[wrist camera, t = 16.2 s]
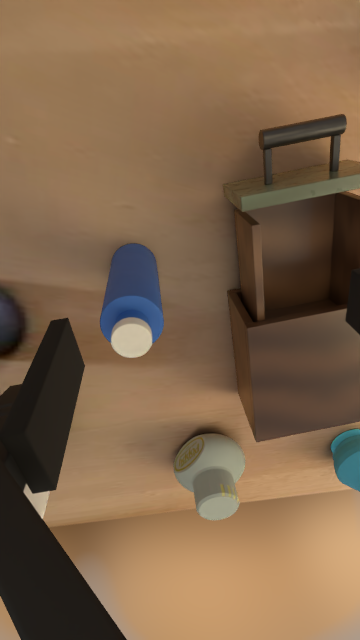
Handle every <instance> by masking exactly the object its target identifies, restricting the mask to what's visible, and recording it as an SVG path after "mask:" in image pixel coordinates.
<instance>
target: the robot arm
mask: <svg viewBox="0 0 360 640" xmlns="http://www.w3.org/2000/svg"><path fill="white" fill-rule="evenodd" d="M345 321H346V322H347V323H348V324H349V325H350V326H351V327H352V328H353V329H354V330H355V331H356V332H357V333H358V334H359V335H360V268H359V269H353V270H351V278H350V287H349V295H348V303H347V311H346V319H345ZM84 367H85V365H84V362H83V359H82V356H81V353H80V351H79V348H78V345H77V342H76V339H75V336H74V334H73V331H72V328H71V325H70V322H69V319H68V318H64V319H58V320H53V321H51V322H50V324H49V327H48V329H47V331H46V333H45V335H44V337H43V340H42V342H41V344H40V346H39V348H38V351H37V353H36V355H35V357H34V359H33V362H32V364H31V366H30V368H29V370H28V372H27V375H26V377H25V379H24V381H23V383H22V384H20V385H14V386H10V387H9V388H8V389H7V390H6V391H5V392H4V393H3V394H2V395H1V396H0V596H1V598H2V600H3V602H4V604H5V606H6V609H7V611H8V613H9V615H10V617H11V619H12V621H13V623H14V626H15V628H16V630H17V632H18V634H19V636H20V638H21V640H127V639H126V638H125V637H124V635H123V634H122V632H121V631H120V630H119V628H118V627H117V625H116V624H115V622H114V621H113V619H112V618H111V617H110V615H109V614H108V612H107V611H106V609H105V608H104V606H103V605H102V604H101V602H100V601H99V600H98V598H97V596H96V595H95V594H94V592H93V591H92V589H91V588H90V587H89V585H88V584H87V582H86V581H85V579H84V578H83V576H82V575H81V574H80V572H79V571H78V569H77V568H76V566H75V565H74V564H73V562H72V561H71V559H70V558H69V556H68V555H67V554H66V552H65V551H64V549H63V548H62V546H61V545H60V544H59V542H58V541H57V539H56V538H55V536H54V535H53V534H52V532H51V531H50V529H49V528H48V526H47V525H46V524H45V522H44V521H43V519H42V518H41V516H40V515H39V514H38V512H37V511H36V509H35V508H34V506H33V505H32V504H31V502H30V501H29V499H28V498H27V496H26V495H25V493H24V489H25V485H26V484H27V485H28V487H29V489H30V490H31V492H32V494H35V493H41V492H47V491H52V490H56V487H57V483H58V479H59V474H60V470H61V466H62V462H63V457H64V453H65V449H66V444H67V440H68V436H69V432H70V427H71V423H72V419H73V414H74V410H75V406H76V402H77V397H78V393H79V389H80V384H81V380H82V376H83V372H84Z"/></svg>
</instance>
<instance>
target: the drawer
mask: <svg viewBox="0 0 360 640" xmlns="http://www.w3.org/2000/svg"><path fill="white" fill-rule="evenodd" d="M346 124H347V122H346V117H345V115H344V114H340V115H335V116H330V117H325V118H320V119H315V120H310V121H305V122H300V123H295V124H290V125H285V126H279V127H274V128H269V129H264V130H260V132H259V146H260V149H261V150H263V165H264V176H262V177H257V178H252V179H247V180H242V181H237V182H232V183H227V184H223V187H224V196H225V197H226V198H227V199H228V200H229V201H230V202H232V203H233V204H234V205H235V206H236V207H237V208H238V209H237V210H235V211H234V212H235V224H236V235H237V247H238V259H239V270H240V282H241V293H242V304H243V305H244V307H245V309H246V311H247V312H248V314H249V316H250V318H251V319H252V321H253V322H257V321H262V320H267V319H272V318H277V317H282V316H287V315H292V314H297V313H302V312H307V311H312V310H317V309H322V308H327V307H332V306H337V305H342V304H347V303H348V295H349V287H350V278H351V270H353V269H359V268H360V196H358V195H355V194H352V193H349V192H346V191H349V190H354V189H359V188H360V162H357V161H351V160H343V161H339V154H340V138H341V135H340V134H343V133H344V132H345V129H346ZM330 136H331V145H330V163H328V164H323V165H318V166H313V167H308V168H303V169H298V170H293V171H288V172H283V173H278V174H272V150H271V149H270V148H274V147H279V146H284V145H290V144H295V143H300V142H305V141H310V140H315V139H320V138H325V137H330Z"/></svg>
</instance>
